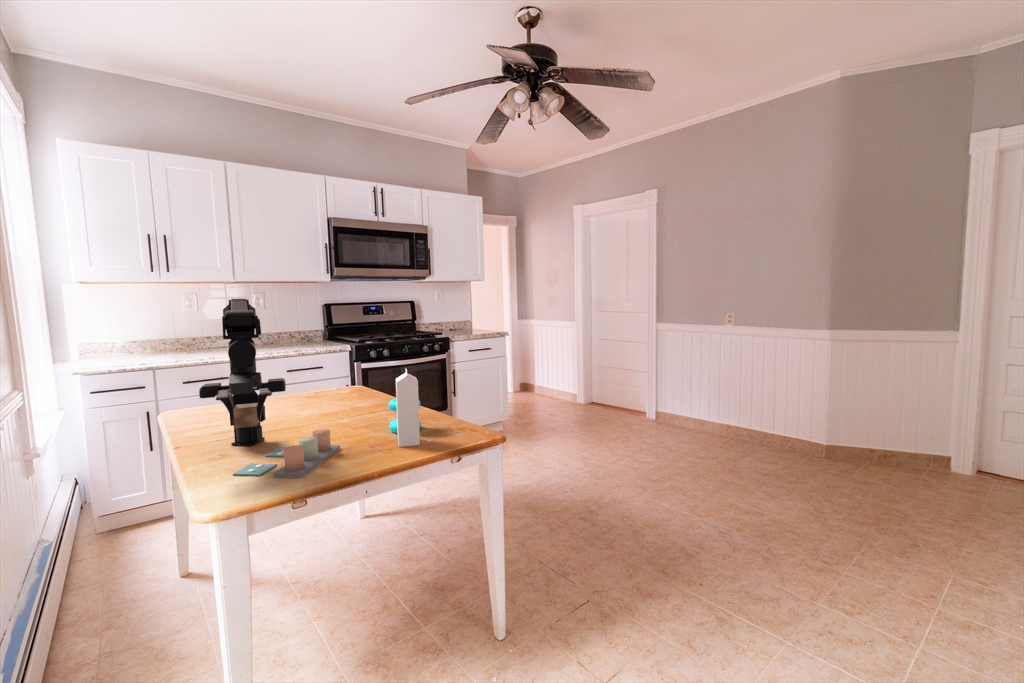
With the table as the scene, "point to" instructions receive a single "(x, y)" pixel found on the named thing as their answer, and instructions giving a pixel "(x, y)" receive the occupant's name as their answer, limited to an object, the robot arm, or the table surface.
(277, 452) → the pad three
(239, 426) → the brown cube
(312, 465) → the board
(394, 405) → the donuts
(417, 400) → the milk
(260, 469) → the pad two
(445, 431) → the table surface
